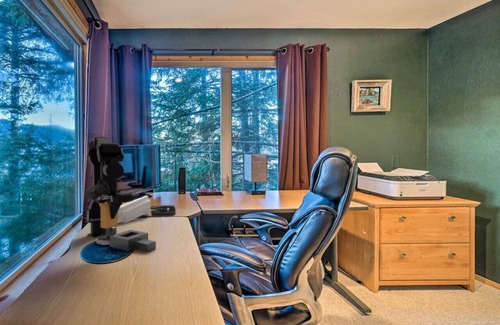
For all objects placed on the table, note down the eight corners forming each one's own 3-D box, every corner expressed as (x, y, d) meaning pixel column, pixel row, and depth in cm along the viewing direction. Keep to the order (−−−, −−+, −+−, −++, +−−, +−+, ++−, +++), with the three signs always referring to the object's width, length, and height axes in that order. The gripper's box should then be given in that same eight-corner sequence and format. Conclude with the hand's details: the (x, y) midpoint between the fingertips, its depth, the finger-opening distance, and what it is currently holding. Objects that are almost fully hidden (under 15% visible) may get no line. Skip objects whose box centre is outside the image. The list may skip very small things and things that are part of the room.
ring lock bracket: (90, 243, 115) (90, 228, 115) (113, 236, 125) (113, 222, 125) (140, 255, 103) (140, 239, 103) (162, 246, 113) (162, 231, 113)
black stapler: (133, 202, 169) (176, 202, 174) (133, 213, 169) (176, 212, 174) (129, 205, 160) (174, 204, 165) (129, 217, 161) (174, 216, 165)
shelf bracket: (154, 216, 162) (150, 196, 160) (114, 236, 142) (109, 213, 139) (147, 215, 165) (144, 195, 163) (108, 234, 145) (103, 211, 142)
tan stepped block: (99, 227, 104) (99, 203, 103) (113, 224, 109) (113, 200, 109) (104, 228, 102) (104, 204, 102) (119, 225, 108) (119, 201, 107)
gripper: (71, 177, 102) (72, 219, 103) (106, 180, 94) (107, 226, 94) (100, 174, 112) (100, 213, 113) (134, 177, 104) (134, 219, 104)
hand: (109, 218), depth 106 cm, fingers closed on tan stepped block, 3 cm apart
